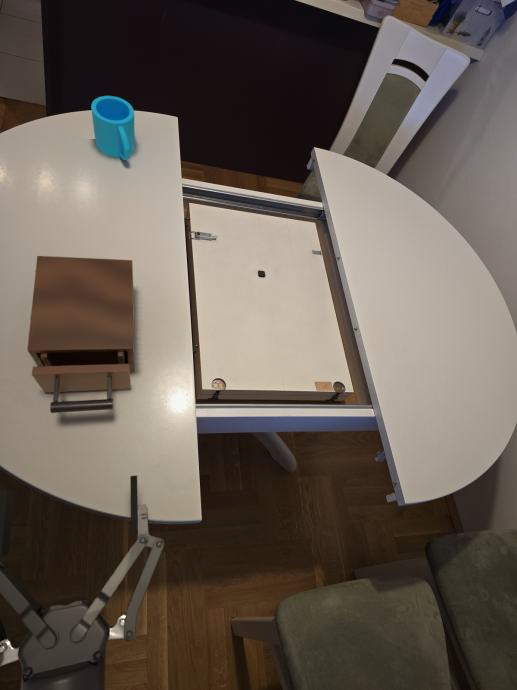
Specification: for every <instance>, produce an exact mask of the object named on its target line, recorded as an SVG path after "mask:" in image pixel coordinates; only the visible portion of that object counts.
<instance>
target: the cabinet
mask: <svg viewBox="0 0 517 690" xmlns="http://www.w3.org/2000/svg"><path fill="white" fill-rule="evenodd" d="M133 272H134V270H133V260H132V259H117V258H116V259H115V258H114V259H113V258H95V257H94V258H93V257H92V258H91V257H74V256H73V257H70V256H48V255H37V257H36V264H35V272H34V273H35V274H34V284H33V293H32V303H31V313H30V314H31V315H30V320H29V321H30V323H29V332H28V341H27V352H28V353H29V355H30V357H31V358H32V360H33V362H34V363H35V364H36V367H38V366H45V364H44V362H43V361H42V359H41V353H50V352H99V351H125V364H129V367H130V373H134V372H135V328H134V327H135V313H134V312H135V311H134V309H135V307H134V306H135V305H134V273H133Z"/></svg>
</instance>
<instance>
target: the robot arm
mask: <svg viewBox="0 0 517 690" xmlns="http://www.w3.org/2000/svg"><path fill="white" fill-rule="evenodd" d="M129 479H130V484H129V485H130V536H137V538H136V540H135V541H134V543H133V544H132V545H131V547H130V549H129V550H128V552H127V553H126V554H125V556H124V557H123V559H122V560H121V562H120V563H119V565H117V567H116V568H115V570H114V572H113V573H112V574H111V576H110V577H109V578H108V580H107V582H106V583H105V584H104V586H103V587H102V588H101V590H100V591H99V593H98V594H97V596H96V597H95V599H94V600H93V601H92V600H91V599H90V598H86V597H85V596H84V597H78V598H76V599H74V600H72V601H58V602H53V603H52V604H51V605H49V606H47V607H46V608H45V607H44V606H43V605H42V604H41V603H40V602H39V601H37V600H36V599H35V598H34V596H33V595H32V594H31V593H30V592H29V591H28V590H27V588H25V586H24V585H23V584H22V583H21V582H20V581H19V579H18V578H17V577H16V576H15V575H14V574H13V573H12V571H10V569H9V568H8V567H7V566H6V565H5V563H4V562H3V561H2V560H1V559H0V595H1V596H2V597H3V598H4V600H5V601H6V602H7V603H8V604H9V605H10V606H11V608H12V609H13V610H14V611H15V612H16V613H17V615H18V616H19V618H20V621H21V622H22V623H23V624H24V625H25V627H26V628H27V629H28V630H29V631H28V632H27V634H26V636H25V637H24V638H23V640H22V642H21V643H20V645H16V644H15V641H14V639H13V638H11V637H8V636H7V632H6V629H5V626H4V624H3V621H2V619H1V618H0V667H2V666H5V665H7V664H10V663H13V662H16V661H19V663H20V665H21V671H22V672H21V680H20V681H21V683H20V690H105V684H106V683H105V682H106V648H107V647H106V646H107V643H108V642H109V641H110V640H119V639H120V640H121V639H123V640H124V641H126V642H130V641H131V642H132V641H133V640H134V638H135V637H136V632H137V621H138V614H139V611H140V608H141V606H142V603H143V600H144V598H145V595H146V593H147V591H148V588H149V586H150V583H151V581H152V578H153V575H154V573H155V570H156V568H157V565H158V562H159V560H160V558H161V555H162V552H163V550H164V547H165V544H166V543H165V540H164V539H163V538H161V537H158V536H153V535H151V534H150V532H149V510H148V506H147V503H146V504H139V505H138V502H139V501H138V496H139V495H138V475H136V474H135V475H130V478H129ZM15 498H16V491H14V490H11V489H3V490H1V489H0V557H1V556H6V555H9V554H10V547H11V536H12V528H13V527H12V526H13V520H14V519H13V518H14V509H15ZM145 548H149V549H150V550H149V553H148V555H147V557H146V560H145V561H144V565H143V566H142V567H143V568H142V569H141V572H140V575H139V577H138V580H137V582H136V584H135V587H134V589H133V592H132V594H131V596H130V599H129V602H128V604H127V608H126V612H125V613H121V614H120V615H119V616H118V617H117V620H116V622H115V623H114V625H110V623H109V622H108V620H107V619H106V618H105V616H104V615H103V614H102V610H103V609H104V608H105V606H106V605H107V603H108V601H109V600H110V598H111V597H112V595H113V594H114V593H115V591H116V590H117V588H118V587H119V585H120V584H121V582H122V581H123V579H124V578H125V576H126V575H127V574H128V573H129V571H130V569H131V568H132V567H133V565H134V563H135V562H136V561H137V560H138V558H139V556H140V554H142V552H143V550H144V549H145Z"/></svg>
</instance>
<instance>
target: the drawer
mask: <svg viewBox="0 0 517 690" xmlns="http://www.w3.org/2000/svg"><path fill="white" fill-rule="evenodd" d="M41 359H42V361H43V362H44V364H45V366H32V370H31V375H32V377H33V378H34V380H35V381H36V383H37V384H38V385H39V387H40V388H41V389H42V391H43V393H53V396H52V401H50V406H49V411H50V414H57V413H58V414H60V413H75V412H77V413H78V412H93V411H108V410H109V411H110V410H114V398H113V390H126V389H127V390H128V389H132V383H131V372H130V367H129V364H125V351H99V352H50V353H41ZM105 390H106V398H105V399H104V398H103V399H86V400H85V399H84V400H65V401H64V400H63V401H59V399H60V392H61V393H62V392H83V391H105Z"/></svg>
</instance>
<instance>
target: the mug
mask: <svg viewBox="0 0 517 690" xmlns="http://www.w3.org/2000/svg"><path fill="white" fill-rule="evenodd" d="M90 108H91V117H92V125H93V126H92V127H93V134H94V140H95V141H94V143H95V146H96V148H97V150H98V151H99V152H100V153H102V154H103V155H106V156H108V157H110V158H115V159H120V158H121V160H123V161H129V160H130V159H131V155H132V154H133V153H134V151H135V147H136V142H135V141H136V140H135V139H136V137H135V135H136V133H135V132H136V131H135V111H134V107H133V106H132V105H131V103H129V102H128V100H125V99H123V98H121V97H118V96H113V95H103V96H98V97H97V98H95V99H94V100H93V101H92V102H91V106H90Z"/></svg>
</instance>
